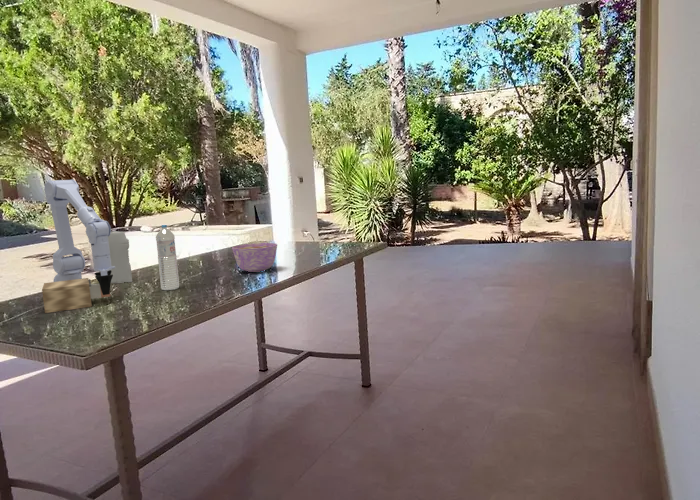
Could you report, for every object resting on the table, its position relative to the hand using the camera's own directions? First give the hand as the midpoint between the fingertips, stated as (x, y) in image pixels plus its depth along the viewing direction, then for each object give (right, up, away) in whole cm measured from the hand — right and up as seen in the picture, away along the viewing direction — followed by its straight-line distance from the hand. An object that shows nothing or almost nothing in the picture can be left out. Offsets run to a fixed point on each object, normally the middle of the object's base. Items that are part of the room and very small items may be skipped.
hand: (105, 292), depth 188 cm
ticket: (-7, -2, -3) cm, 8 cm away
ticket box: (-10, -4, -5) cm, 12 cm away
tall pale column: (-10, +1, +37) cm, 38 cm away
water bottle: (+18, 0, +16) cm, 24 cm away
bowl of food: (+46, +6, +46) cm, 65 cm away
